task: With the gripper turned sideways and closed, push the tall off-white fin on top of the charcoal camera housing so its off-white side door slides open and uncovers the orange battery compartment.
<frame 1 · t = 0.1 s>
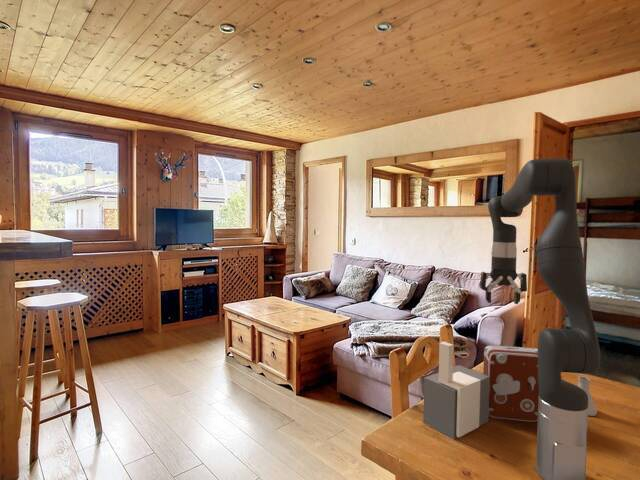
hand: (502, 303, 126), 29 cm above the table, tool pointing down, fingers open, 8 cm apart
cine camera: (519, 416, 109), on the table
camera housing: (455, 421, 106), on the table
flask: (582, 411, 112), on the table
camera door: (459, 384, 101), point 13 cm above the table, slide at 0.0 cm
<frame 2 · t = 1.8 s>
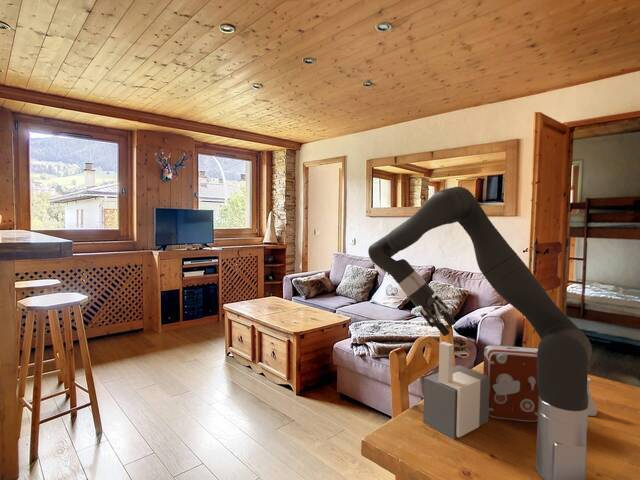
hand: (450, 329, 117), 23 cm above the table, tool tilted 40°, fingers open, 8 cm apart
nothing on the table moved.
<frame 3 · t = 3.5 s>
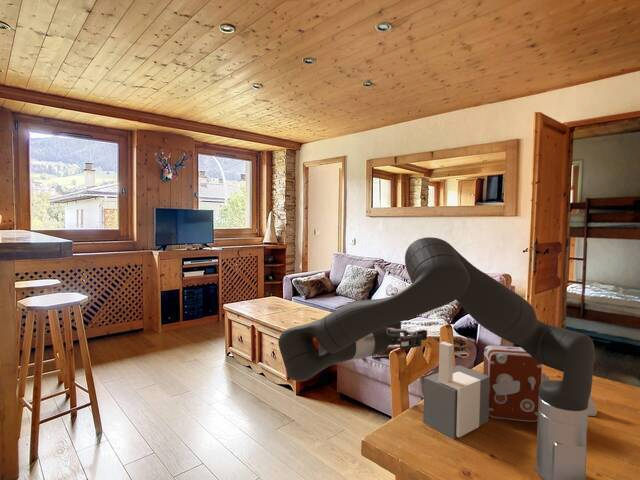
hand: (412, 329, 93), 30 cm above the table, tool horizontal, fingers open, 8 cm apart
nothing on the table moved.
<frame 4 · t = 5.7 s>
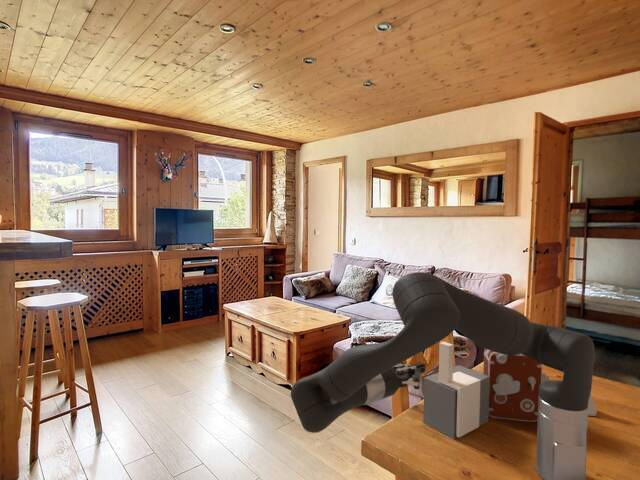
hand: (422, 366, 95), 20 cm above the table, tool horizontal, fingers closed
nothing on the table moved.
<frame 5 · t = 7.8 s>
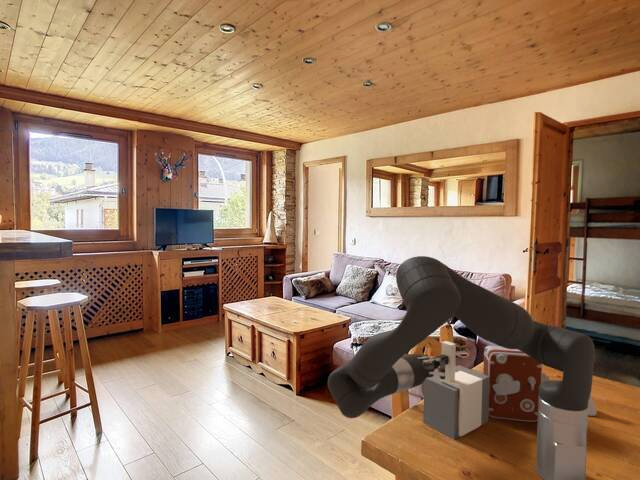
hand: (446, 358, 100), 20 cm above the table, tool horizontal, fingers closed
camera door: (461, 384, 102), point 13 cm above the table, slide at 0.9 cm, touching gripper
everything else where it was.
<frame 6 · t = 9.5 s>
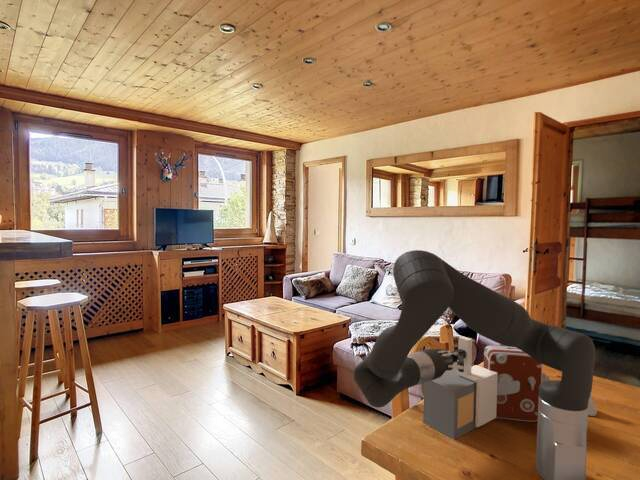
hand: (462, 353, 104), 20 cm above the table, tool horizontal, fingers closed
camera door: (477, 377, 106), point 13 cm above the table, slide at 8.5 cm, touching gripper
everything else where it was.
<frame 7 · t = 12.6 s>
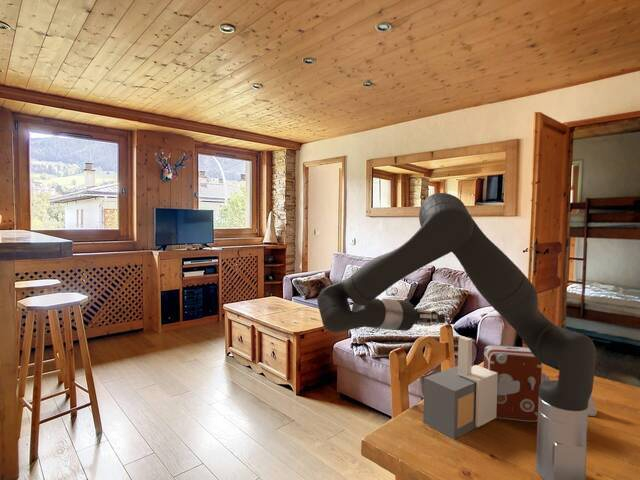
hand: (443, 319, 100), 31 cm above the table, tool horizontal, fingers closed
camera door: (477, 377, 106), point 13 cm above the table, slide at 8.5 cm
everything else where it was.
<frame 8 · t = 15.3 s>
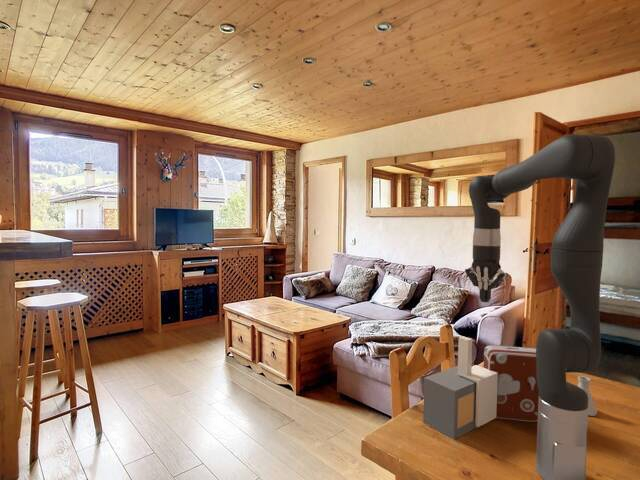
hand: (484, 301, 111), 33 cm above the table, tool pointing down, fingers closed
nothing on the table moved.
at the end: camera door slide at 8.5 cm; cine camera moved 0.2 cm from its start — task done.
